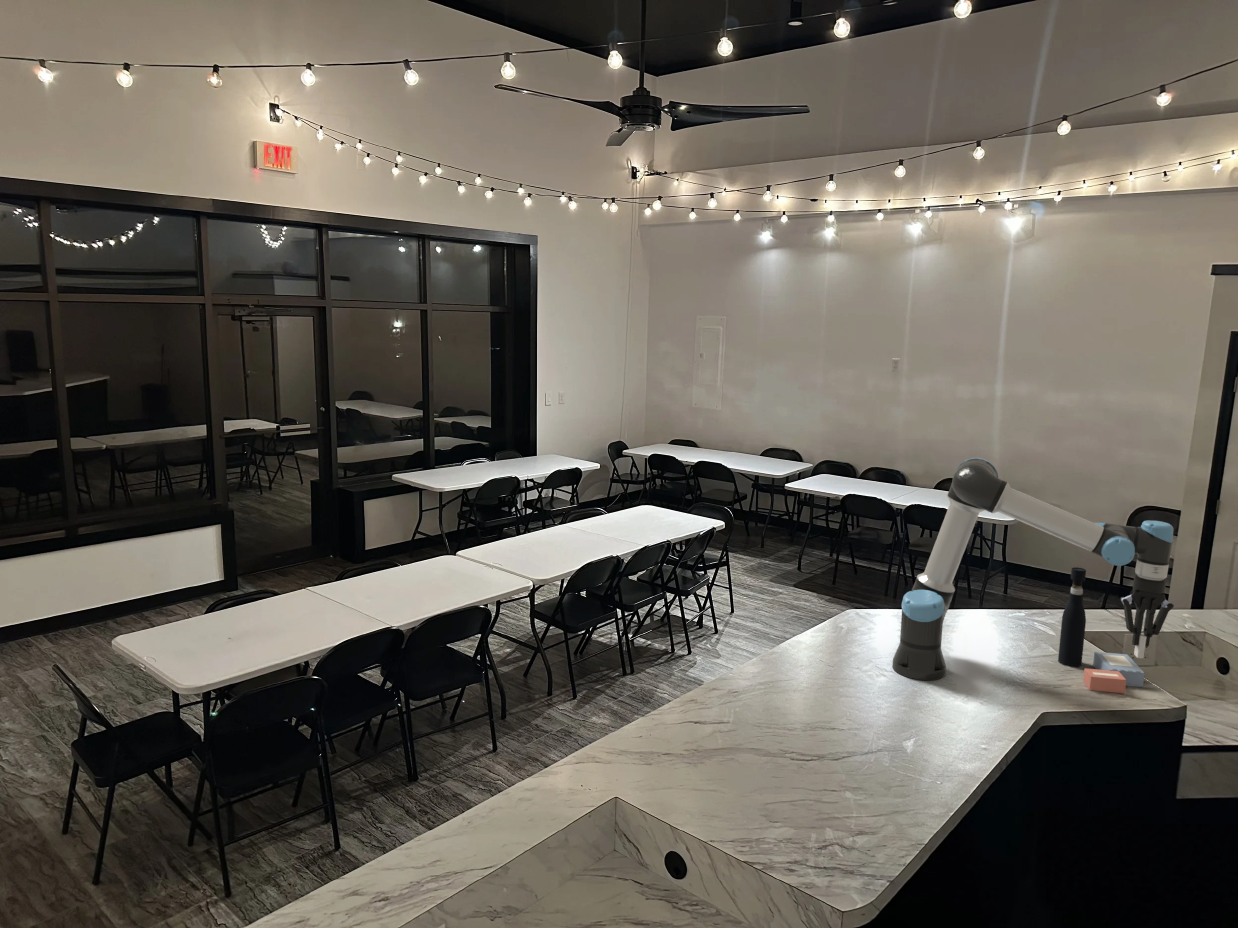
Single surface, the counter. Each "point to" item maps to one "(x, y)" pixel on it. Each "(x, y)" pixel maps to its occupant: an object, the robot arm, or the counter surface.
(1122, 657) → the blue labeled box
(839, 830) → the counter surface
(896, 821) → the counter surface
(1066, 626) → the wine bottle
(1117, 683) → the red box
